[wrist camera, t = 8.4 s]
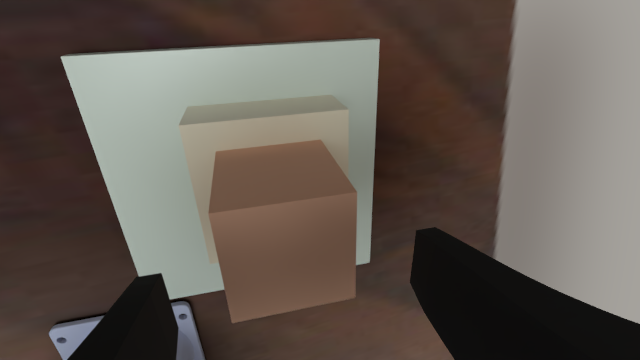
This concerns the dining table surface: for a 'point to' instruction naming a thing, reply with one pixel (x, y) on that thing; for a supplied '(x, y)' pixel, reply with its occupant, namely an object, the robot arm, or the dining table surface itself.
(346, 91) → the base plate
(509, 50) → the dining table surface
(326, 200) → the top brick
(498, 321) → the robot arm
